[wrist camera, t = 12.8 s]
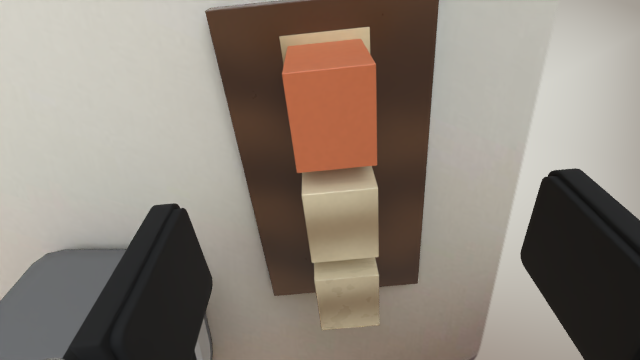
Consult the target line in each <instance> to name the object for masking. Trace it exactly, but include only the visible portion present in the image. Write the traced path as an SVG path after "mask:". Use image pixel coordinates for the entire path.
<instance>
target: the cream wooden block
mask: <svg viewBox="0 0 640 360" xmlns="http://www.w3.org/2000/svg"><path fill="white" fill-rule="evenodd" d="M302 202H303V208H304V215H305V222H306V228H307V235H308V242H309V248H310V255H311V262H312V263H318V262H329V261H340V260H351V259H363V258H374V257H379V225H378V186H377V182H376V179H375V176H374V172H373V169H372V166H366V167H356V168H345V169H335V170H325V171H314V172H304V173H302Z"/></svg>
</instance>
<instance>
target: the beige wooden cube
mask: <svg viewBox="0 0 640 360" xmlns="http://www.w3.org/2000/svg"><path fill="white" fill-rule="evenodd" d="M314 282H315V289H316V296H317V302H318V309H319V316H320V322H321V329H322V330H330V329H342V328H354V327H366V326H378V325H379V273H378V268H377V264H376V259H375V257H374V258H363V259H351V260H340V261H329V262H318V263H314Z"/></svg>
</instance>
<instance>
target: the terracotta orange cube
mask: <svg viewBox="0 0 640 360" xmlns="http://www.w3.org/2000/svg"><path fill="white" fill-rule="evenodd" d="M282 78H283V85H284V92H285V98H286V105H287V111H288V118H289V124H290V131H291V137H292V144H293V150H294V157H295V164H296V170H297V173H304V172H314V171H325V170H335V169H345V168H356V167H366V166H376V165H377V99H376V63H375V62H374V60H373V58H372V56H371V55H370V53H369V51H368V50H367V48H366V46H365V44H364V43H363V41H362V39H352V40H342V41H333V42H323V43H314V44H305V45H295V46H288V47H287V51H286V56H285V61H284V66H283V71H282Z"/></svg>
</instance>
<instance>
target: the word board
mask: <svg viewBox="0 0 640 360" xmlns="http://www.w3.org/2000/svg"><path fill="white" fill-rule="evenodd" d="M438 5H439V0H280V1H271V2H262V3H253V4H244V5H235V6H225V7H216V8H210V9H208V10H206V11H205V13H206V17H207V21H208V25H209V29H210V33H211V37H212V41H213V45H214V50H215V54H216V58H217V62H218V66H219V70H220V74H221V78H222V82H223V86H224V91H225V95H226V99H227V103H228V107H229V111H230V115H231V119H232V123H233V127H234V132H235V136H236V140H237V144H238V148H239V152H240V156H241V160H242V164H243V168H244V173H245V177H246V181H247V185H248V189H249V193H250V197H251V201H252V205H253V210H254V214H255V218H256V222H257V226H258V230H259V234H260V238H261V242H262V246H263V251H264V255H265V259H266V263H267V267H268V271H269V275H270V279H271V283H272V287H273V292H274V295H275V296H279V295H291V294H302V293H313V292H316V289H315V282H314V263H312V262H311V255H310V248H309V242H308V235H307V228H306V222H305V215H304V208H303V202H302V173H297V170H296V164H295V157H294V150H293V144H292V137H291V131H290V124H289V118H288V111H287V105H286V98H285V92H284V85H283V78H282V71H283V66H284V61H285V56H286V51H287V47H288V46H295V45H305V44H314V43H323V42H333V41H342V40H352V39H362V41H363V43H364V44H365V46H366V48H367V50H368V51H369V53H370V55H371V56H372V58H373V60H374V62H375V63H376V99H377V165H376V166H372V169H373V172H374V176H375V179H376V182H377V186H378V225H379V257H375V259H376V264H377V268H378V273H379V287H382V286H394V285H405V284H417V283H418V272H419V259H420V246H421V232H422V219H423V206H424V192H425V179H426V165H427V152H428V139H429V125H430V112H431V98H432V85H433V72H434V58H435V45H436V31H437V18H438Z"/></svg>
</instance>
